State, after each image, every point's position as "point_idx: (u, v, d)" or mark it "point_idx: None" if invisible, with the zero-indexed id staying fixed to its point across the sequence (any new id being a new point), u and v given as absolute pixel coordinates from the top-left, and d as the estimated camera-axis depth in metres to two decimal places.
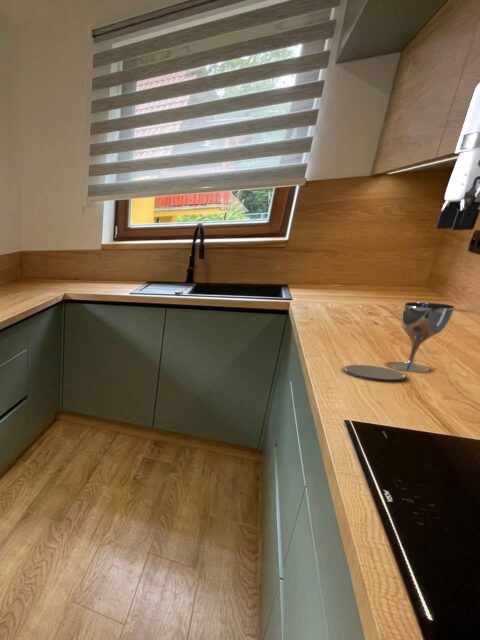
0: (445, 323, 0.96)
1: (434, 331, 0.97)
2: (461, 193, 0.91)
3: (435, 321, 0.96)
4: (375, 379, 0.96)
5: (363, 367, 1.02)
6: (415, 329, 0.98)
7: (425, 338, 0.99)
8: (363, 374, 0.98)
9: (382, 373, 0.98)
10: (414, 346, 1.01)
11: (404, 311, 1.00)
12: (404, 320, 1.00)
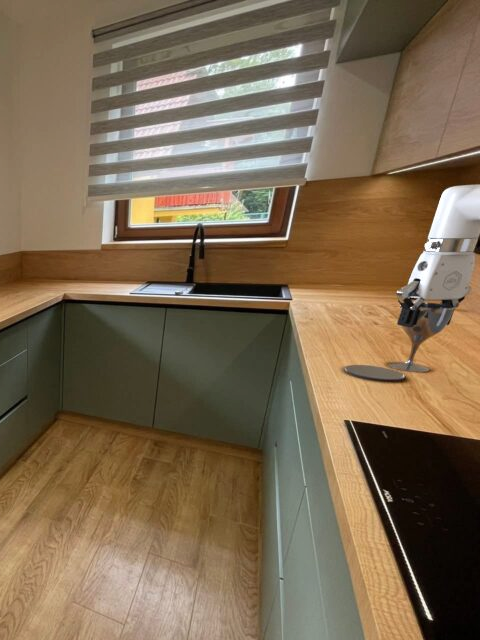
0: (445, 323, 0.96)
1: (434, 331, 0.97)
2: None
3: (435, 321, 0.96)
4: (375, 379, 0.96)
5: (363, 367, 1.02)
6: (415, 329, 0.98)
7: (425, 338, 0.99)
8: (363, 374, 0.98)
9: (382, 373, 0.98)
10: (414, 346, 1.01)
11: None
12: None
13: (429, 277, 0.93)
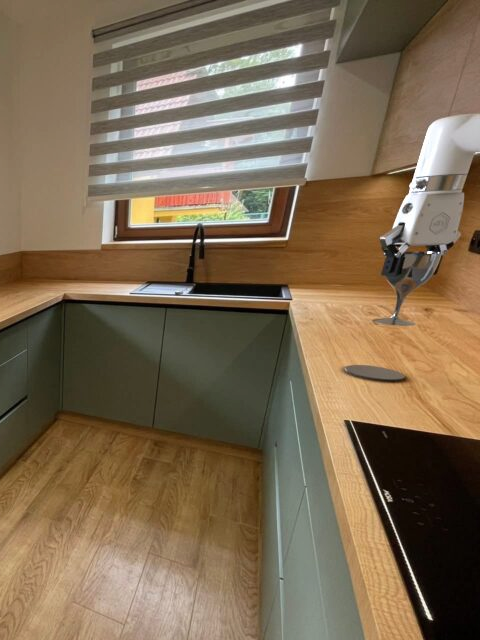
0: (432, 271, 0.88)
1: (420, 280, 0.89)
2: None
3: (421, 269, 0.88)
4: (375, 379, 0.96)
5: (363, 367, 1.02)
6: (400, 278, 0.91)
7: (411, 289, 0.91)
8: (363, 374, 0.98)
9: (382, 373, 0.98)
10: (399, 299, 0.94)
11: None
12: None
13: (414, 219, 0.86)
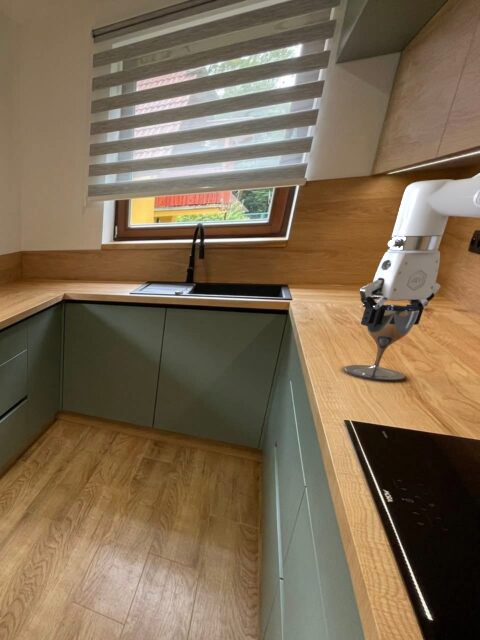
0: (410, 326, 0.92)
1: (399, 335, 0.93)
2: None
3: (399, 324, 0.92)
4: (375, 379, 0.96)
5: None
6: (380, 332, 0.95)
7: (390, 342, 0.95)
8: (363, 374, 0.98)
9: None
10: (380, 350, 0.97)
11: None
12: None
13: (393, 276, 0.89)
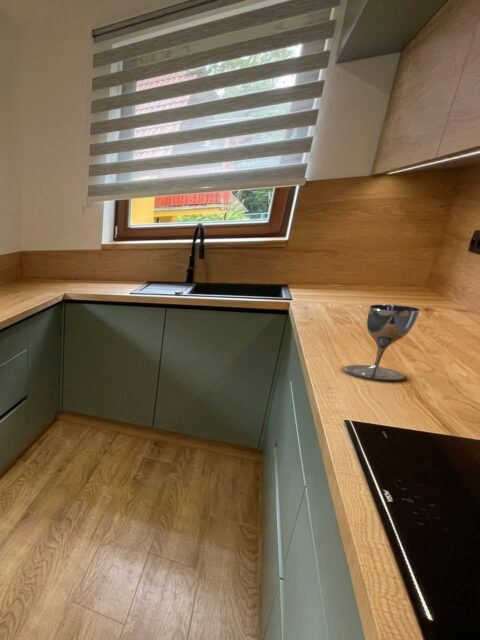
0: (410, 326, 0.92)
1: (399, 335, 0.93)
2: None
3: (399, 324, 0.92)
4: (375, 379, 0.96)
5: None
6: (380, 332, 0.95)
7: (390, 342, 0.95)
8: (363, 374, 0.98)
9: None
10: (380, 350, 0.97)
11: (369, 314, 0.96)
12: (369, 323, 0.96)
13: None
